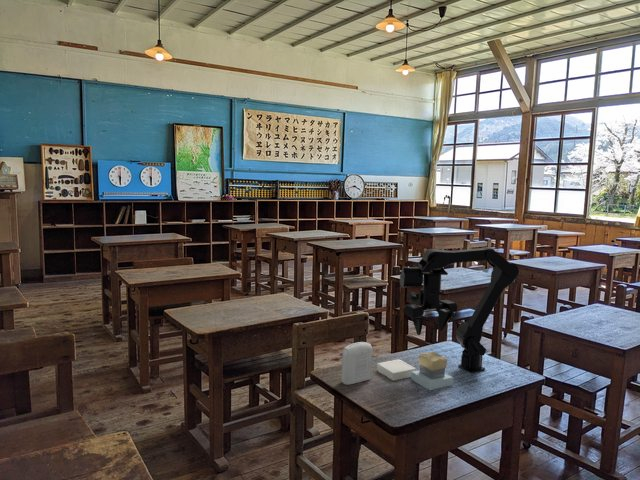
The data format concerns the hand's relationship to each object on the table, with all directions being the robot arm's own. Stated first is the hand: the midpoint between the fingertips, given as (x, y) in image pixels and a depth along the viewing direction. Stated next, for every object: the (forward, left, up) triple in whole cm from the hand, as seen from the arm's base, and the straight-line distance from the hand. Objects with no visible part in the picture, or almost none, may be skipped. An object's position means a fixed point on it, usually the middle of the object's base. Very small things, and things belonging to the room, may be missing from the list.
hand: (429, 333), depth 162 cm
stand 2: (+6, +9, -12) cm, 17 cm away
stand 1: (+12, -1, -12) cm, 17 cm away
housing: (+6, +9, -10) cm, 15 cm away
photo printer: (+27, -2, -13) cm, 30 cm away
